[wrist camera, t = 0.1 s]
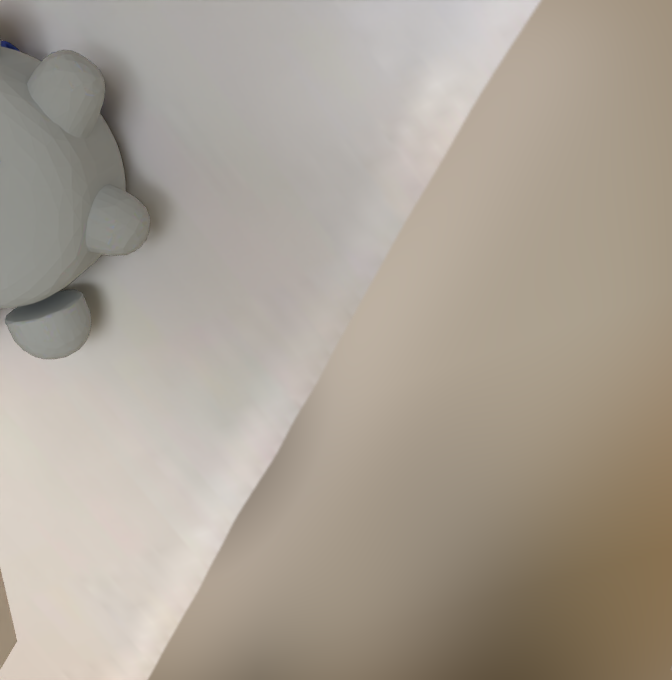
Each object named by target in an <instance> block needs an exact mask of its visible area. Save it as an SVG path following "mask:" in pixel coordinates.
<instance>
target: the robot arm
mask: <svg viewBox="0 0 672 680" xmlns="http://www.w3.org/2000/svg"><path fill="white" fill-rule="evenodd" d="M16 642H17V639H16V634H15V630H14V626H13V621H12V617H11V613H10V608H9V604H8V600H7V595H6V591H5V587H4V582H3V578H2V574H1V569H0V669H1V667H2V665H3V664H4V662H5V660H6V659H7V657H8V655H9V654H10V652H11V650H12V649H13V647H14V645H15V644H16ZM671 670H672V667H671Z"/></svg>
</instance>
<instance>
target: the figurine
mask: <svg viewBox="0 0 672 680" xmlns="http://www.w3.org/2000/svg"><path fill="white" fill-rule="evenodd" d="M104 95H105V83H104V79H103V76H102V74H101V72H100V70H99V69H98V68H97V67H96V66H95V65H94V64H93V63H92V62H90V61H89V60H88V59H86V58H85V57H84V56H82V55H80V54H78V53H76V52H73V51H68V50H61V51H57V52H53V53H51V54H50V55H48V56H47V57H46V58H44V59H43V60H42V61H40V60H38V59H36V58H34V57H32V56H30V55H27V54H25V53H22V52H20V51H19V50H18V49H17V48H16V47H15V46H13V45H12V44H11V43H9V42H6V41H1V40H0V309H3V308H15V307H17V308H15V309H14V310H13V311H12V312H10V313H9V314H8V315H7V316H6V319H5V322H6V325H7V327H8V329H9V331H10V333H11V335H12V337H13V339H14V340H15V342H16V343H17V344H18V345H19V346H20V347H21V348H22V349H23V350H24V351H26V352H28V353H29V354H31V355H33V356H34V357H38V358H42V359H58V358H63V357H67V356H69V355H70V354H72V353H74V352H76V351H77V350H79V349H80V348H81V347H82V345H83V344H84V343H85V342H86V340H87V338H88V336H89V332H90V328H91V314H90V310H89V308H88V306H87V303H86V301H85V298H84V296H83V294H82V293H81V292H80V291H77V290H64V291H60V290H62V289H63V288H65V287H66V286H68V285H69V284H70V283H71V282H72V281H73V280H75V279H76V278H77V277H78V276H79V275H81V274H82V273H83V272H84V271H85V270H86V269H88V268H89V267H90V266H91V265H92V264H93V263H95V262H96V260H97V259H98V258H99V257H100V256H101V255H102V254H104V255H109V256H115V255H127V254H129V253H131V252H134V251H136V250H137V249H139V248H140V247H141V245H142V244H143V243H144V242H145V240H146V238H147V236H148V233H149V226H150V217H149V214H148V211H147V209H146V207H145V206H144V205H143V204H142V203H141V202H140V201H139V200H138V199H137V198H135V197H134V196H132V195H131V194H129V193H127V192H126V182H125V173H124V167H123V163H122V158H121V155H120V151H119V148H118V146H117V143H116V141H115V138H114V136H113V134H112V132H111V131H110V129H109V127H108V125H107V123H106V121H105V120H104V118H103V117H102V115H101V114H100V110H101V107H102V104H103V102H104Z"/></svg>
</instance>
